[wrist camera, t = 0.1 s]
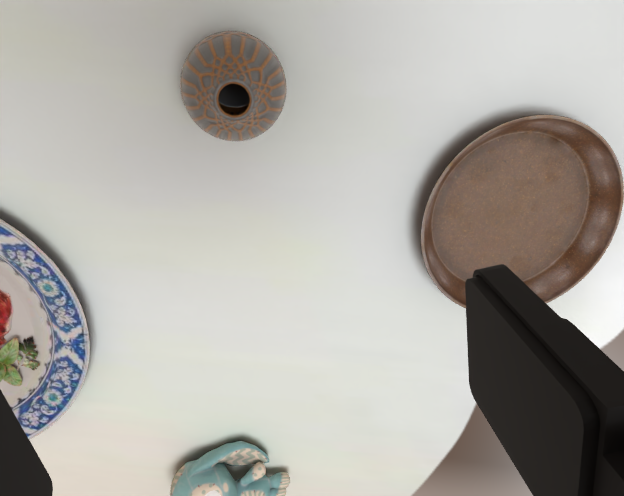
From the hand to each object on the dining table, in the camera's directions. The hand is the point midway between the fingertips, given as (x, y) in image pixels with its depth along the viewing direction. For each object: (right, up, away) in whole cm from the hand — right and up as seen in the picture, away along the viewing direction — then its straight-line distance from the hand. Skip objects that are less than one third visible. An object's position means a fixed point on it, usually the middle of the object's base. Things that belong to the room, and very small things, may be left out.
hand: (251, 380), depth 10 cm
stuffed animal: (-7, -20, +44) cm, 49 cm away
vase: (-4, +15, +27) cm, 31 cm away
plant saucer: (+18, +6, +35) cm, 40 cm away
